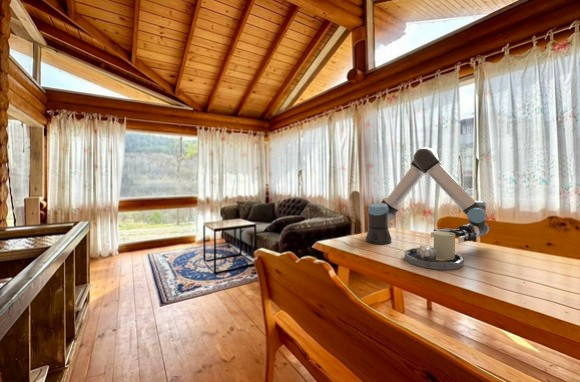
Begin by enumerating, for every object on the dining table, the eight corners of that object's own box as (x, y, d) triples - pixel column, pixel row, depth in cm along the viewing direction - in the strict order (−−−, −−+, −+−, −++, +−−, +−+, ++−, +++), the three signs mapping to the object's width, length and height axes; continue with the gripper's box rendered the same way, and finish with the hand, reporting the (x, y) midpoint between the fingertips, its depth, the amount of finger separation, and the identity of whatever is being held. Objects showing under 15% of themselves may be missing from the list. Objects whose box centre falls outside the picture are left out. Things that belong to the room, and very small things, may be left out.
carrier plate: (395, 255, 133) (395, 241, 133) (437, 252, 137) (437, 238, 136) (426, 272, 110) (426, 255, 109) (476, 267, 113) (476, 251, 113)
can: (455, 261, 118) (455, 235, 117) (432, 258, 123) (432, 233, 122) (455, 255, 126) (455, 231, 125) (433, 253, 131) (434, 229, 130)
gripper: (495, 243, 127) (472, 250, 116) (443, 234, 148) (420, 239, 138) (495, 228, 126) (472, 234, 116) (443, 221, 148) (420, 226, 138)
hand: (444, 237), depth 127 cm, fingers open, 13 cm apart
